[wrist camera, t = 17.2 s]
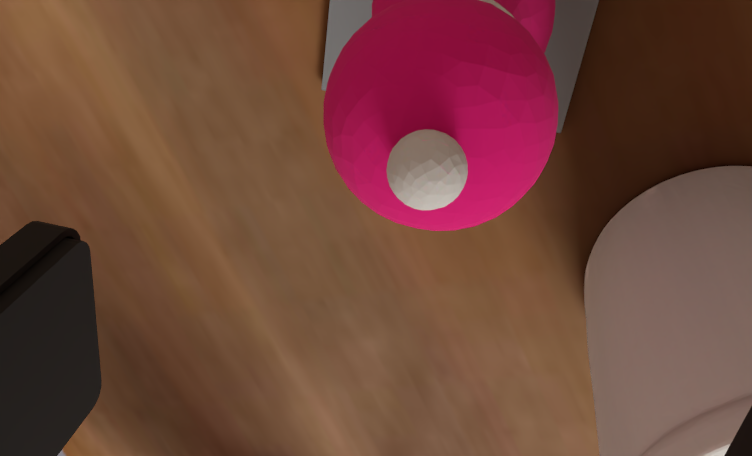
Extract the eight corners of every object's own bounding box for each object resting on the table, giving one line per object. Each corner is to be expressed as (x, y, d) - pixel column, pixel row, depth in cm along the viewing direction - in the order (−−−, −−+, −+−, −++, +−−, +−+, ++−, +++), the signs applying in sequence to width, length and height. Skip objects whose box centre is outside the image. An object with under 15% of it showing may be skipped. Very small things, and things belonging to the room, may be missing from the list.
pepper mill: (379, 56, 34) (252, 296, 17) (397, -108, 30) (258, -16, 13) (529, 79, 33) (556, 352, 16) (567, -86, 30) (652, 42, 12)
